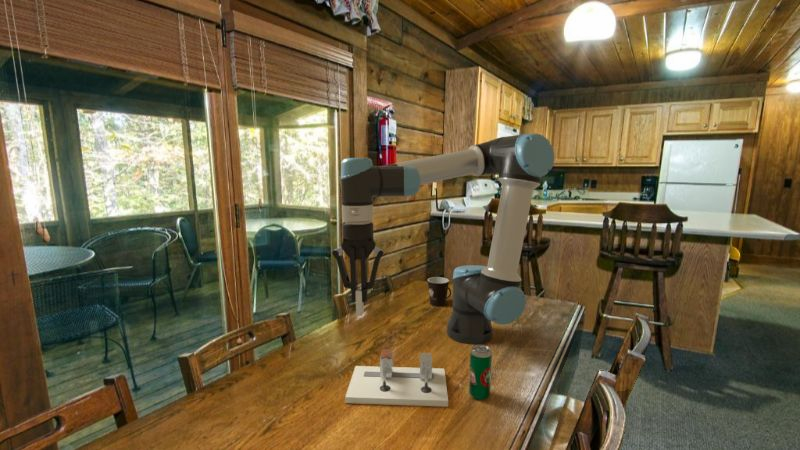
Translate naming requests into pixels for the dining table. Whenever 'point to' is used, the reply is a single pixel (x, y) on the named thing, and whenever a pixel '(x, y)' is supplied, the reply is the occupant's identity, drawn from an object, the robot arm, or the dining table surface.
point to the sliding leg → (386, 364)
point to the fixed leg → (426, 367)
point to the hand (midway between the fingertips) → (359, 313)
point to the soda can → (480, 372)
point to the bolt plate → (397, 387)
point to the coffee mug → (438, 291)
